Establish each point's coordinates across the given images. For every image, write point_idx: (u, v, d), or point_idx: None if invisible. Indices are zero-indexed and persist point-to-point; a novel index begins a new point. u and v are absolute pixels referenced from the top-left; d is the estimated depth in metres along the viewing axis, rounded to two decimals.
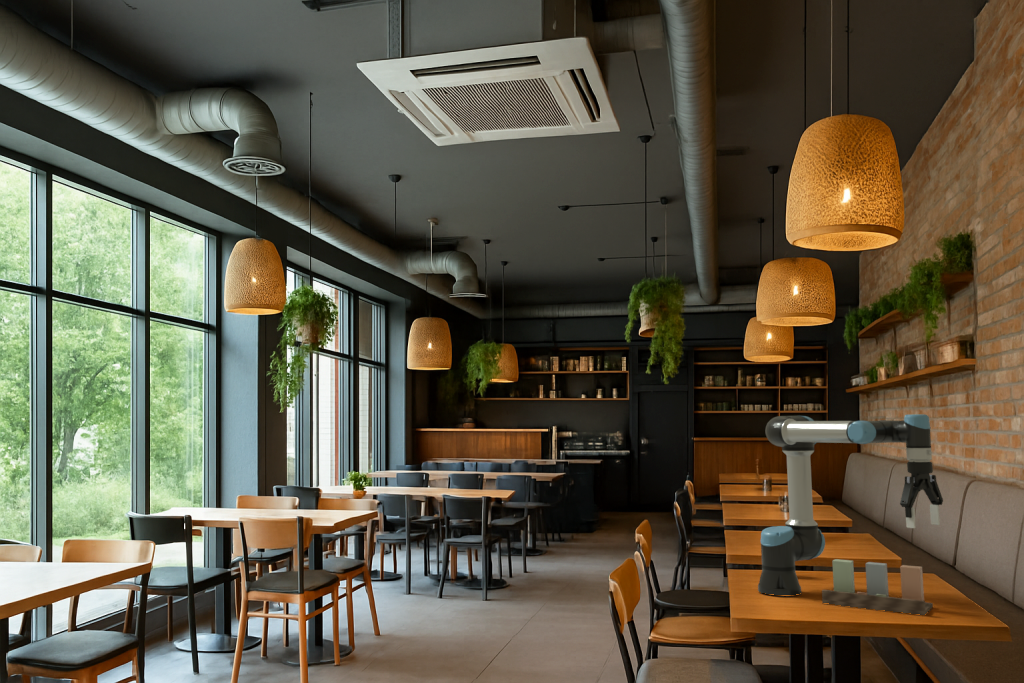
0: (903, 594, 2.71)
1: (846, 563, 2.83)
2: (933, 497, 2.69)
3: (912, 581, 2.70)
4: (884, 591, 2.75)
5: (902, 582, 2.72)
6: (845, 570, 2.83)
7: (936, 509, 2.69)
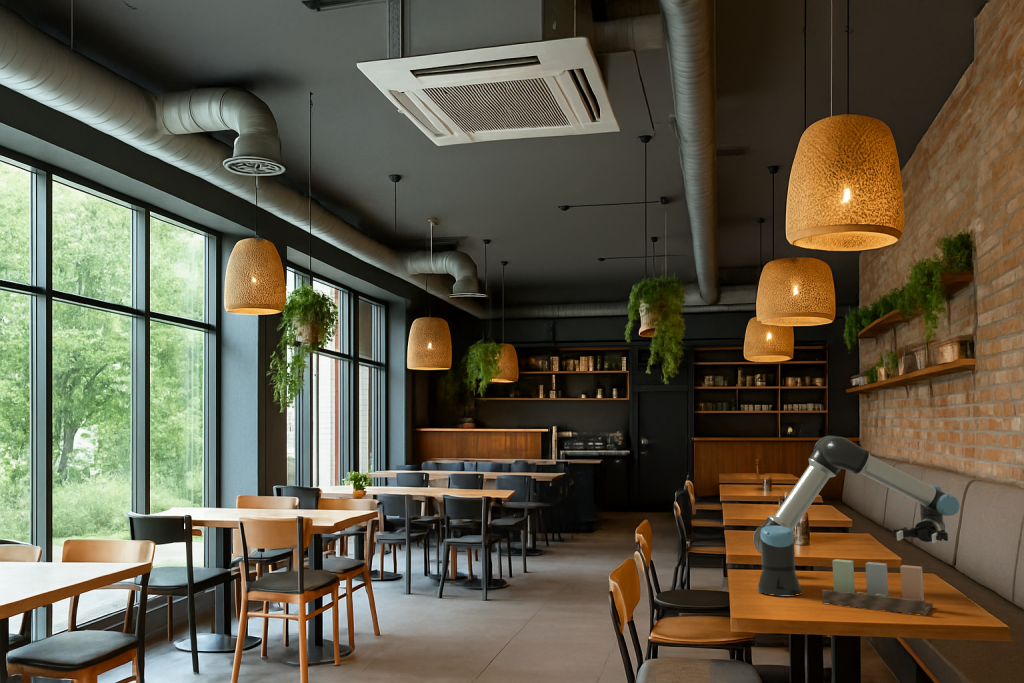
0: (903, 594, 2.71)
1: (846, 563, 2.83)
2: (907, 535, 2.91)
3: (912, 581, 2.70)
4: (884, 591, 2.75)
5: (902, 582, 2.72)
6: (845, 570, 2.83)
7: (902, 537, 2.88)
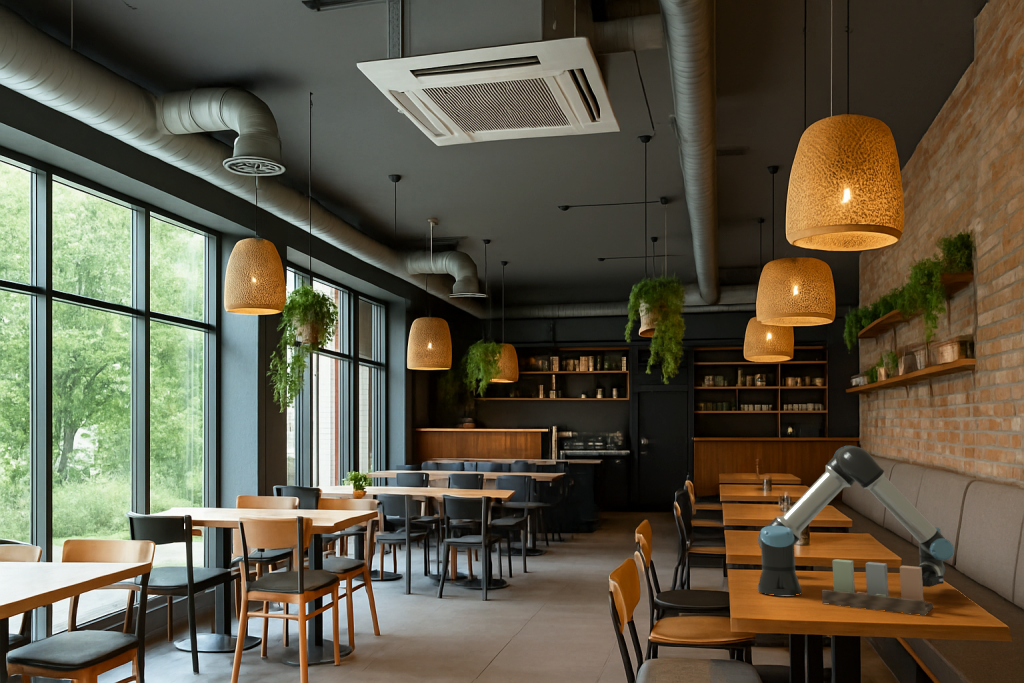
0: (902, 595, 2.71)
1: (846, 563, 2.83)
2: None
3: (911, 582, 2.69)
4: (884, 591, 2.75)
5: (901, 583, 2.71)
6: (845, 570, 2.83)
7: None
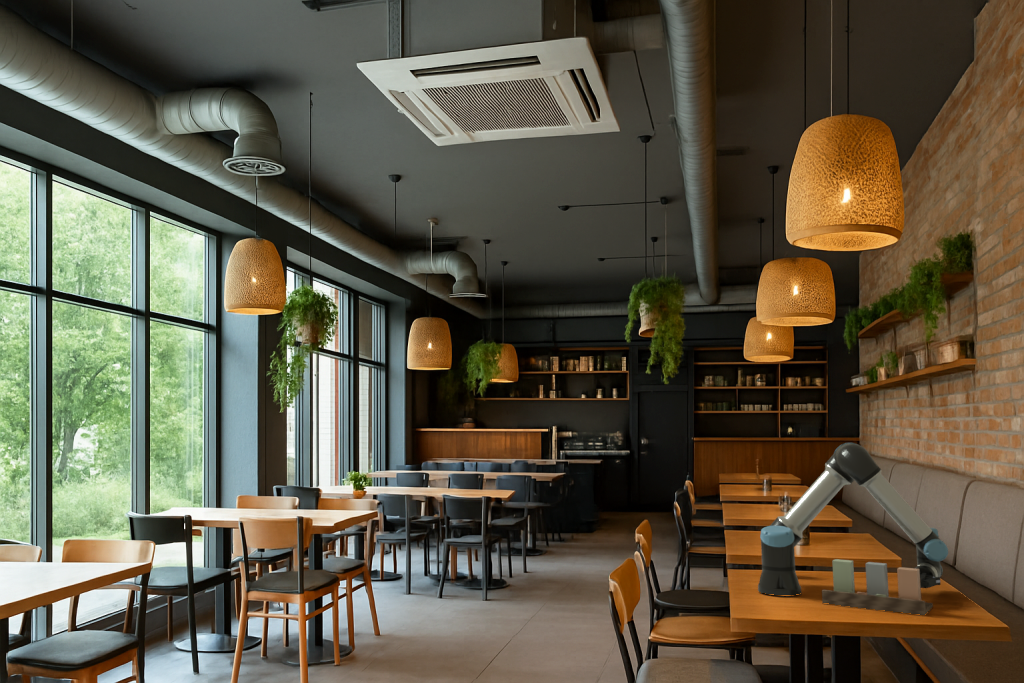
0: (900, 597, 2.67)
1: (846, 563, 2.83)
2: None
3: (909, 584, 2.66)
4: (884, 591, 2.75)
5: (899, 584, 2.68)
6: (845, 570, 2.83)
7: None
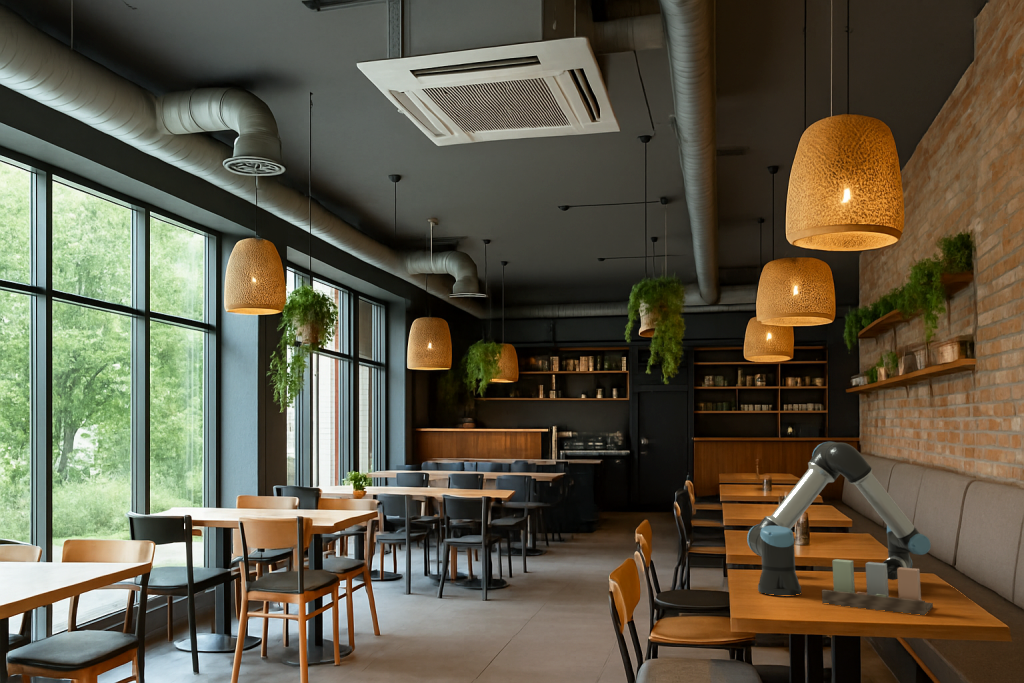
0: (900, 597, 2.67)
1: (846, 563, 2.83)
2: None
3: (909, 584, 2.66)
4: (884, 591, 2.75)
5: (899, 584, 2.68)
6: (845, 570, 2.83)
7: None
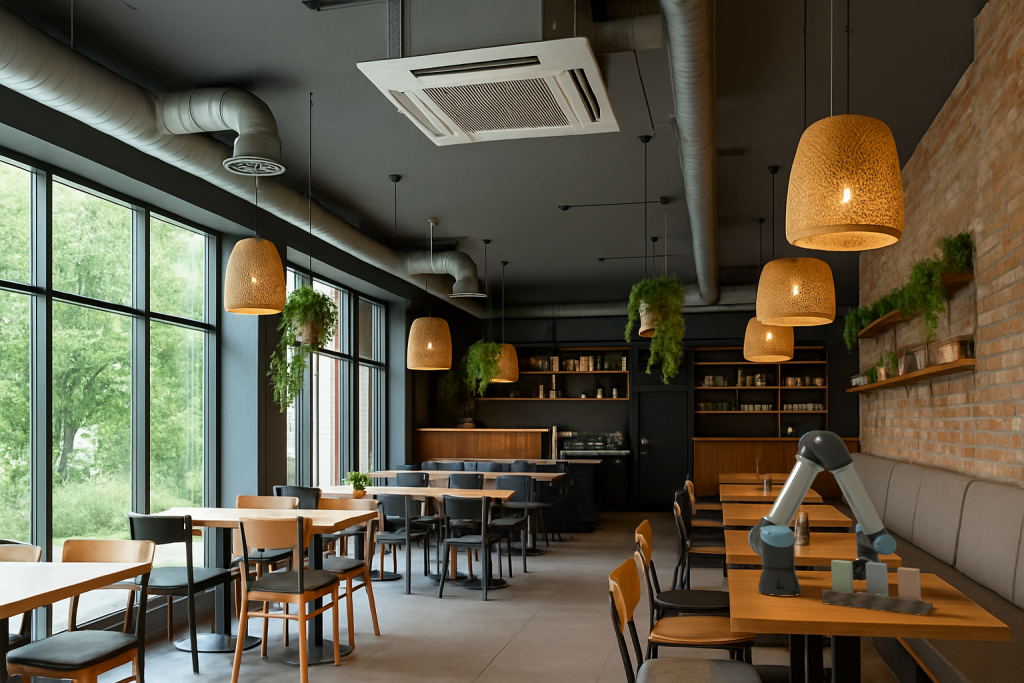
0: (900, 597, 2.67)
1: (845, 564, 2.81)
2: None
3: (909, 584, 2.66)
4: (884, 591, 2.75)
5: (899, 584, 2.68)
6: (844, 570, 2.81)
7: None
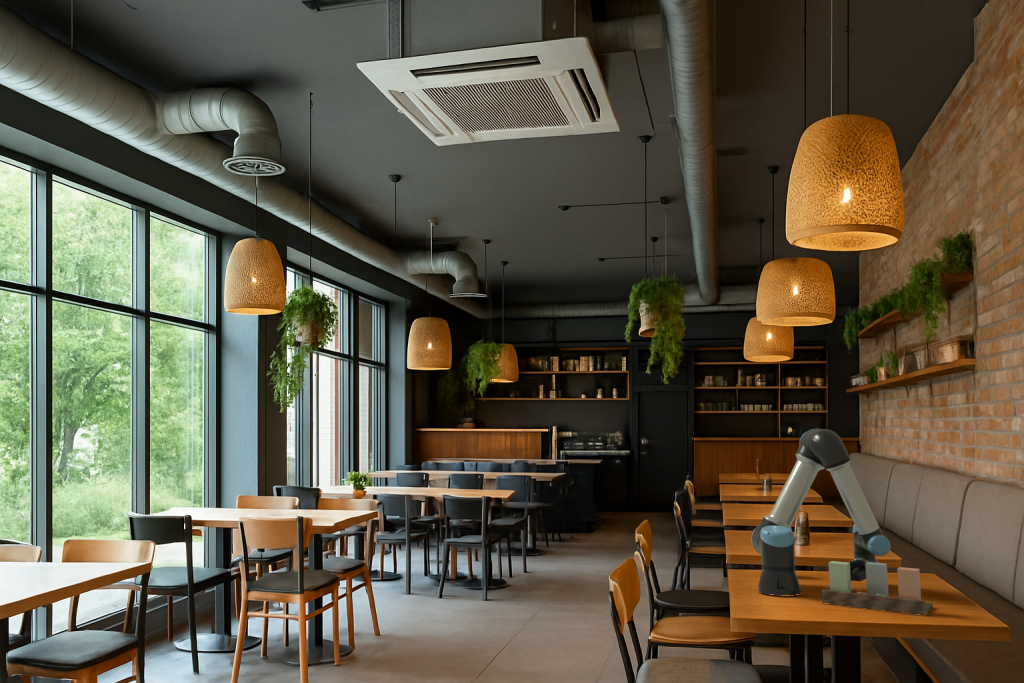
0: (900, 597, 2.67)
1: (842, 565, 2.79)
2: None
3: (909, 584, 2.66)
4: (884, 591, 2.75)
5: (899, 584, 2.68)
6: (841, 572, 2.79)
7: None
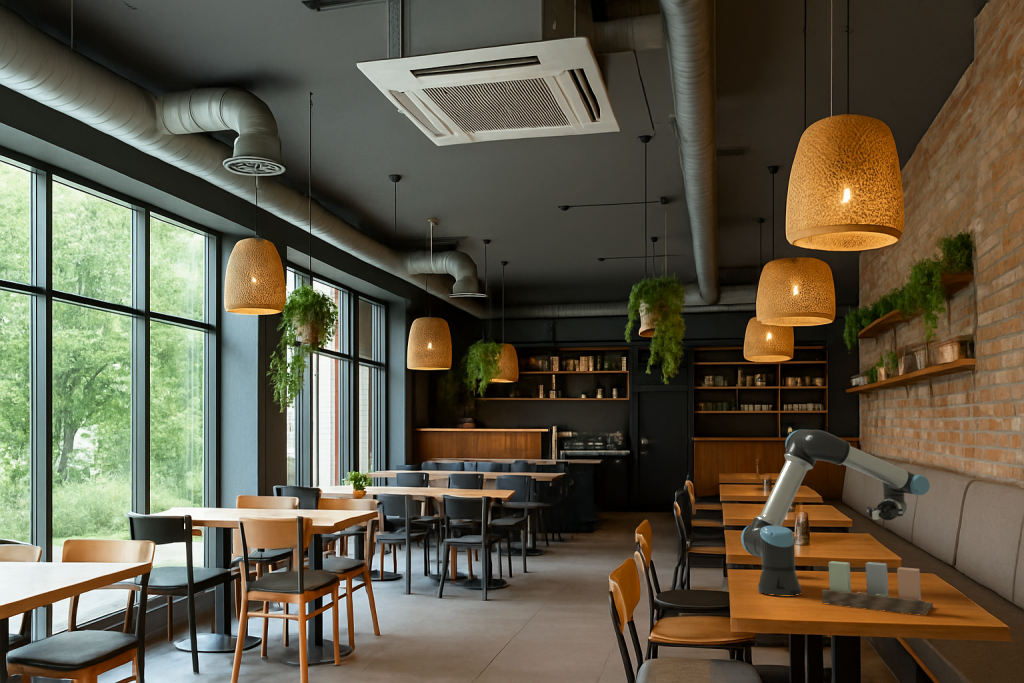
0: (900, 597, 2.67)
1: (842, 565, 2.79)
2: None
3: (909, 584, 2.66)
4: (884, 591, 2.75)
5: (899, 584, 2.68)
6: (841, 572, 2.79)
7: None
